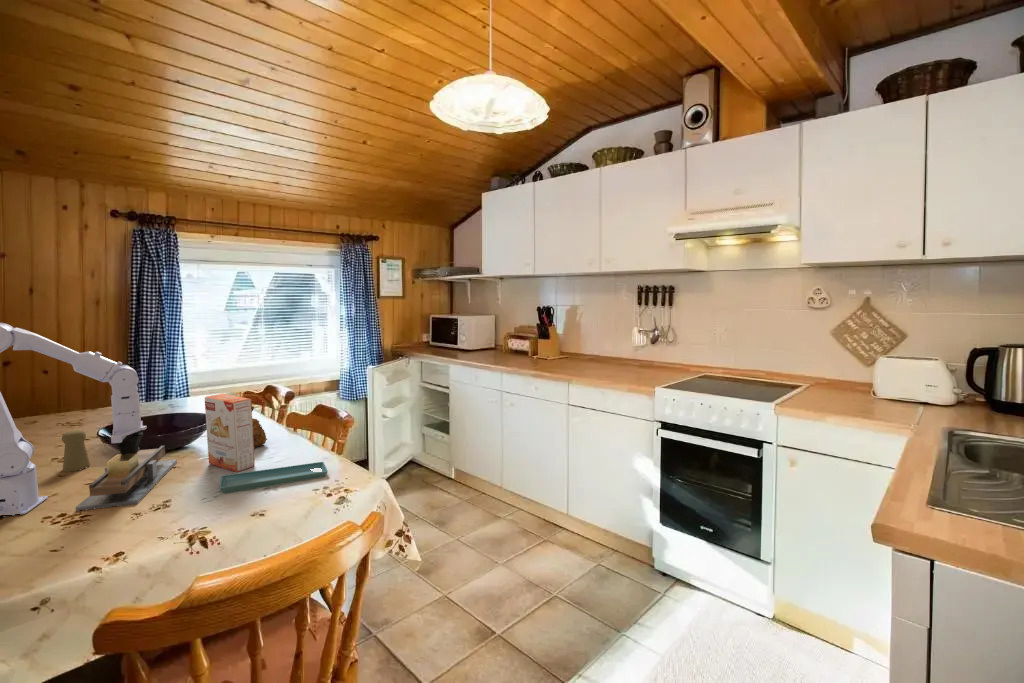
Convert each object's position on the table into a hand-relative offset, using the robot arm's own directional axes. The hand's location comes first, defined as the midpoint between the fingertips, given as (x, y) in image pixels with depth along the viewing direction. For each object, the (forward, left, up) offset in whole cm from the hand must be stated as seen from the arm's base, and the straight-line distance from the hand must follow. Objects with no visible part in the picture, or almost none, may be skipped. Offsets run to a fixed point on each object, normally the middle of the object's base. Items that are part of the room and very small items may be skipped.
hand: (130, 461), depth 127 cm
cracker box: (+7, -22, -7) cm, 24 cm away
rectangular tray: (-8, -36, -7) cm, 37 cm away
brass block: (-4, 0, -2) cm, 4 cm away
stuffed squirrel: (+27, -24, -7) cm, 37 cm away
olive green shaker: (+19, +20, -7) cm, 29 cm away
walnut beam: (0, 0, -2) cm, 2 cm away
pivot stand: (0, 0, -6) cm, 6 cm away
